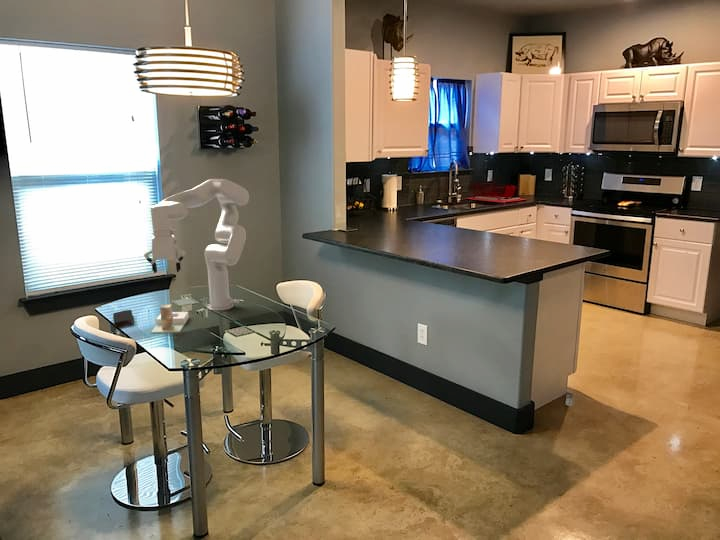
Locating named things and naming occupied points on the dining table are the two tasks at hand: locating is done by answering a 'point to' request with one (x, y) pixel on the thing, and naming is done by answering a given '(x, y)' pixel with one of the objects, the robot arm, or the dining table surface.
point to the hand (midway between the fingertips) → (166, 271)
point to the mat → (159, 330)
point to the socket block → (176, 318)
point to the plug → (166, 317)
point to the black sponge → (123, 318)
